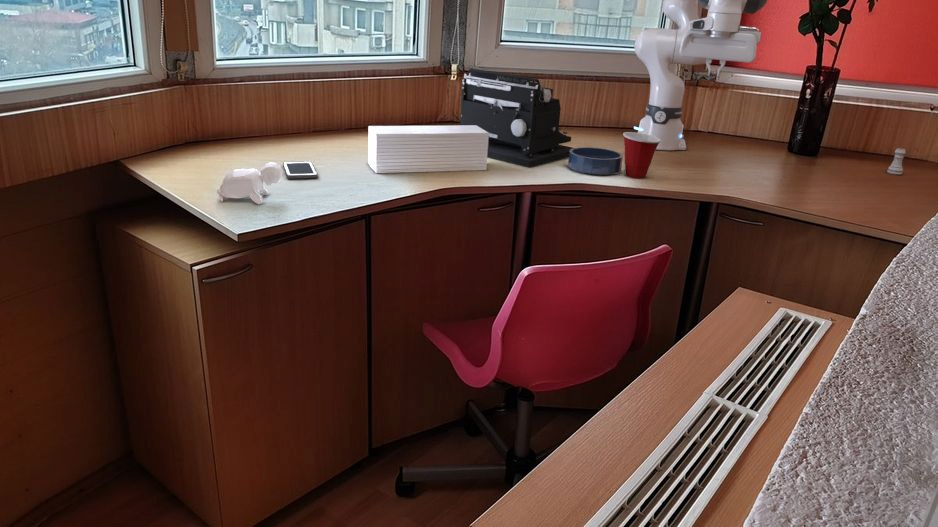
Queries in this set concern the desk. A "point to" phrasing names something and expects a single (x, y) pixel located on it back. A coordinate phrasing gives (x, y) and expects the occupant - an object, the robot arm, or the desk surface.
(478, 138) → the stack of papers
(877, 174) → the desk surface
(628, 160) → the plastic cup
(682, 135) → the robot arm
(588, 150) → the bowl
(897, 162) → the rook chess piece
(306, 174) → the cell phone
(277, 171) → the white animal figurine
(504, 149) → the typewriter
